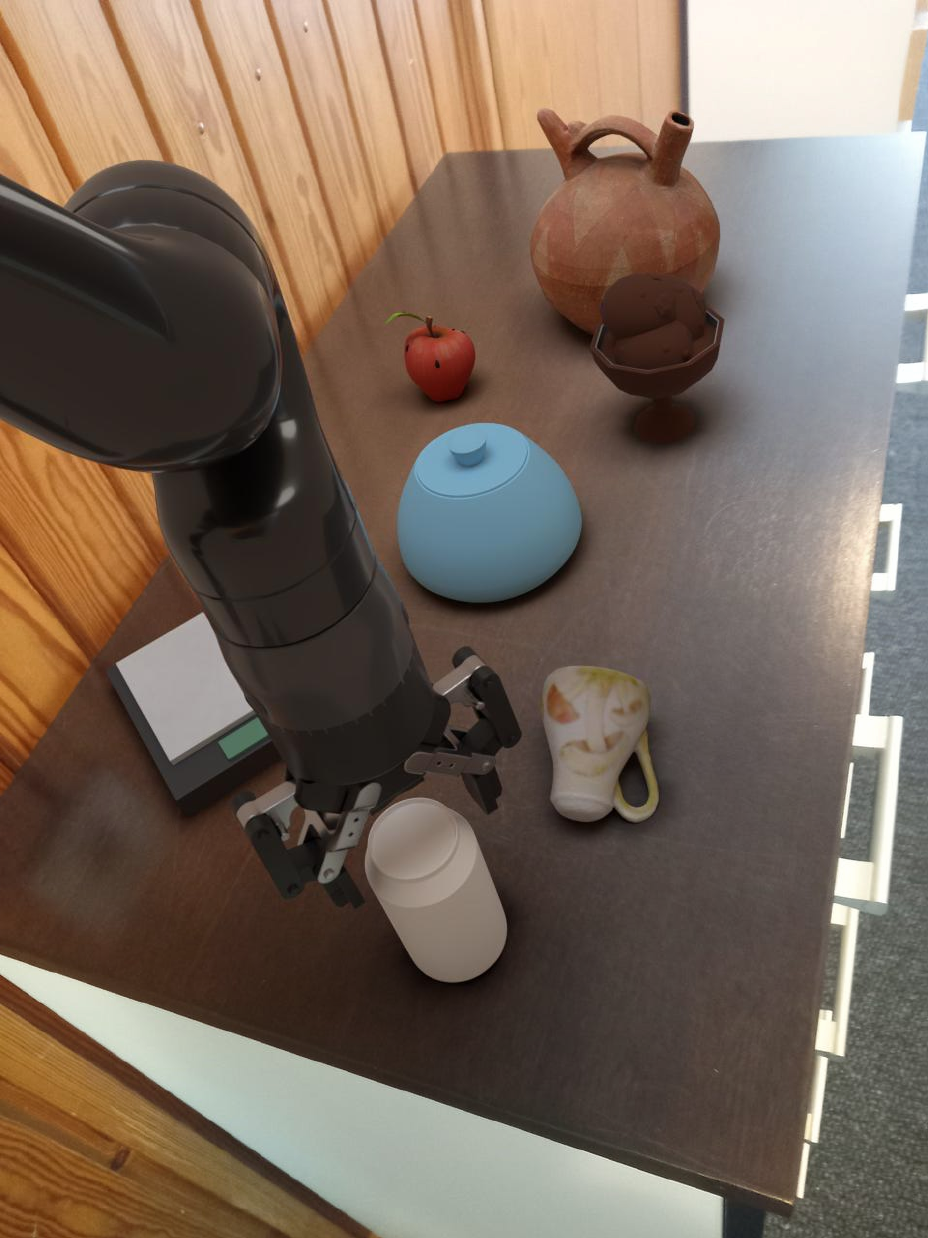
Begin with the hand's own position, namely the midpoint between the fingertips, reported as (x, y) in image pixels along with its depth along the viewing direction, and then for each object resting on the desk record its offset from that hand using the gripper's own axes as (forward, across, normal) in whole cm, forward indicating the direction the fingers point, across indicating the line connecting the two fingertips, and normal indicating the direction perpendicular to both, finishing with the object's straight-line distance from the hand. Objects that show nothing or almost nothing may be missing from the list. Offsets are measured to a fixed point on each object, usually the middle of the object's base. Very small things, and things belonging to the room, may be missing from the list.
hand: (418, 847), depth 55 cm
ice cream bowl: (+11, -41, -29) cm, 51 cm away
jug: (+11, -51, -46) cm, 69 cm away
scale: (+11, +3, -28) cm, 30 cm away
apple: (+11, -30, -49) cm, 58 cm away
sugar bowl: (+11, -21, -27) cm, 36 cm away
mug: (+11, -14, -4) cm, 18 cm away
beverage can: (+11, 0, 0) cm, 11 cm away
